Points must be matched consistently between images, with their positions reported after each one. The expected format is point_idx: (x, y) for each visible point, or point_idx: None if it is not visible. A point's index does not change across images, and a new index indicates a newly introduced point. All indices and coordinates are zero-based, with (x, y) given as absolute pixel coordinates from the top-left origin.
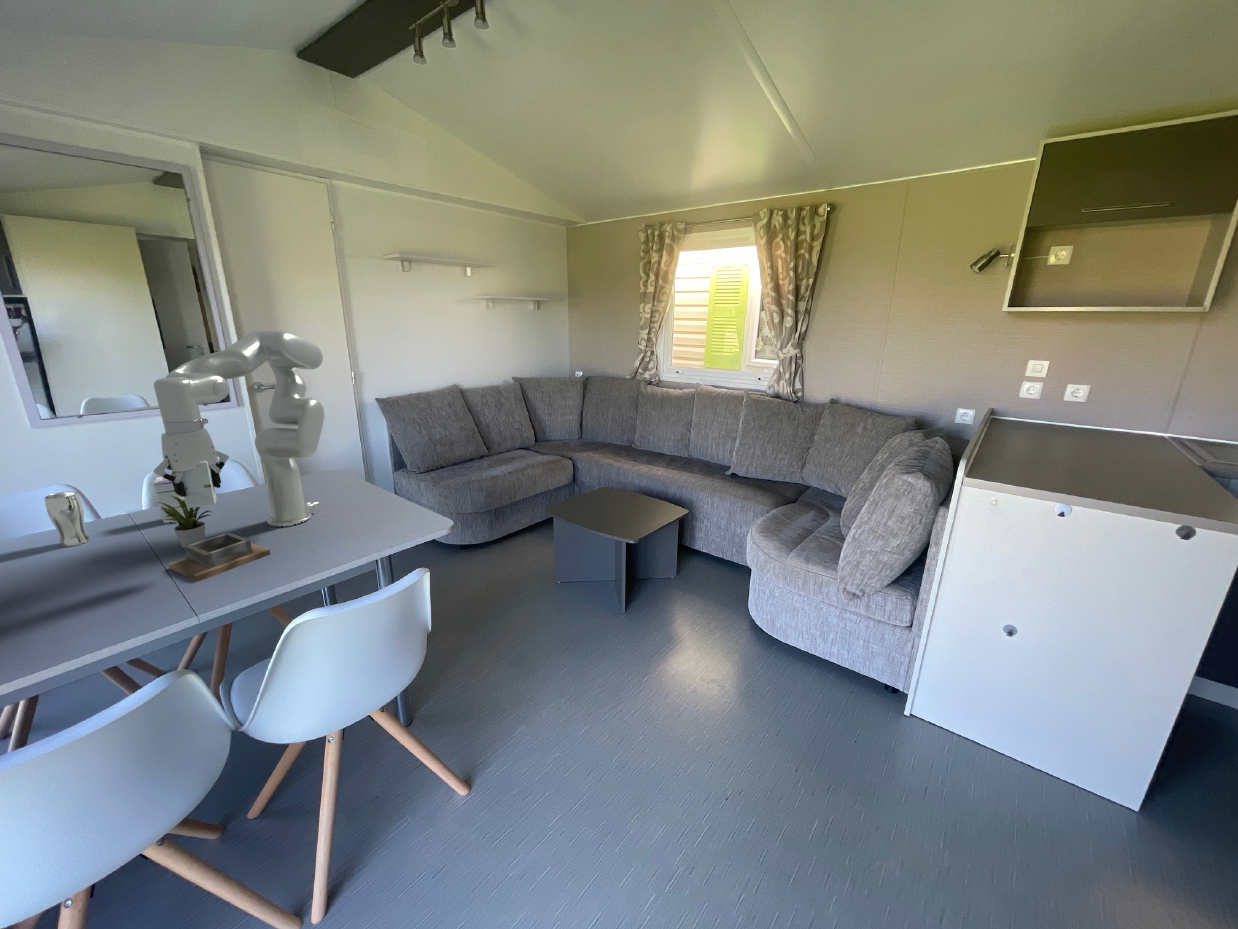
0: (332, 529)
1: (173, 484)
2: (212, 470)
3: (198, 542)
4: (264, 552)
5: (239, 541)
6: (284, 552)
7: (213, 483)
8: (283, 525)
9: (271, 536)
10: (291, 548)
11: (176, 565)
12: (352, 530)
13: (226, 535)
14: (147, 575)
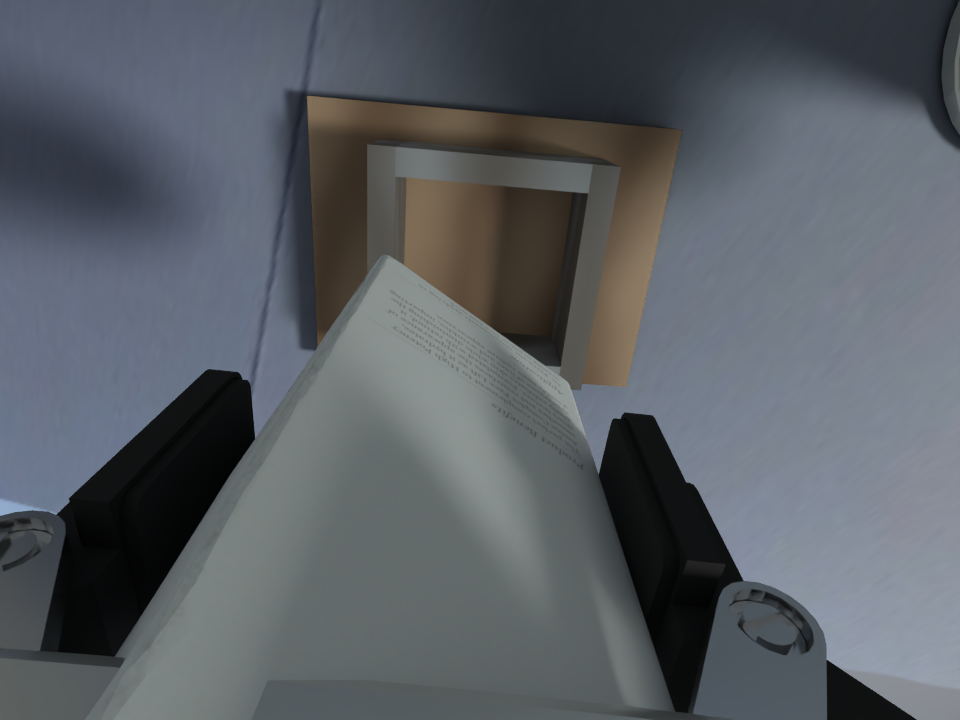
0: (942, 386)
1: (68, 522)
2: (687, 698)
3: (440, 161)
4: (601, 381)
5: (564, 324)
6: (654, 411)
7: (610, 496)
8: (953, 114)
9: (800, 182)
10: (697, 402)
11: (319, 164)
12: (940, 471)
13: (586, 194)
14: (223, 72)
